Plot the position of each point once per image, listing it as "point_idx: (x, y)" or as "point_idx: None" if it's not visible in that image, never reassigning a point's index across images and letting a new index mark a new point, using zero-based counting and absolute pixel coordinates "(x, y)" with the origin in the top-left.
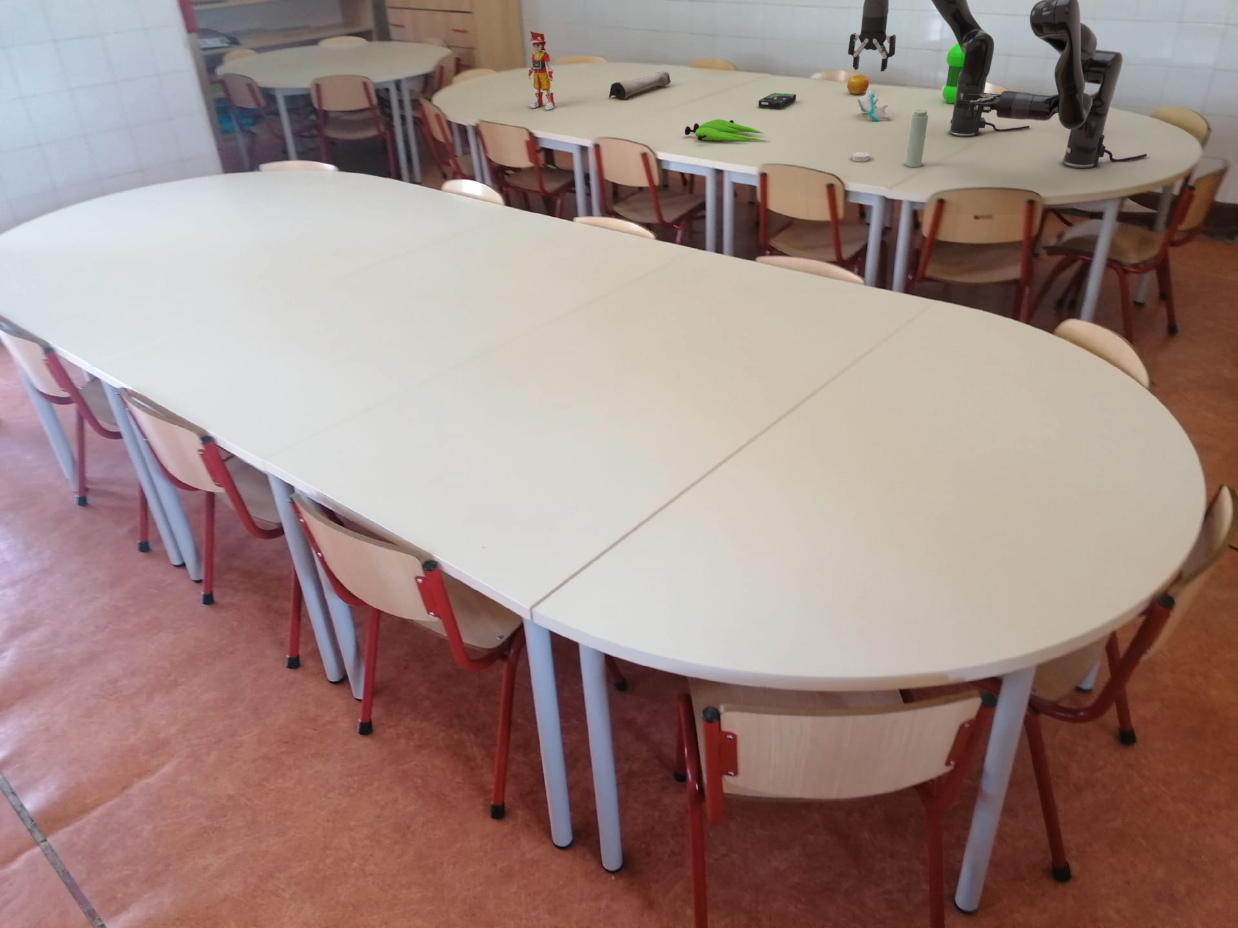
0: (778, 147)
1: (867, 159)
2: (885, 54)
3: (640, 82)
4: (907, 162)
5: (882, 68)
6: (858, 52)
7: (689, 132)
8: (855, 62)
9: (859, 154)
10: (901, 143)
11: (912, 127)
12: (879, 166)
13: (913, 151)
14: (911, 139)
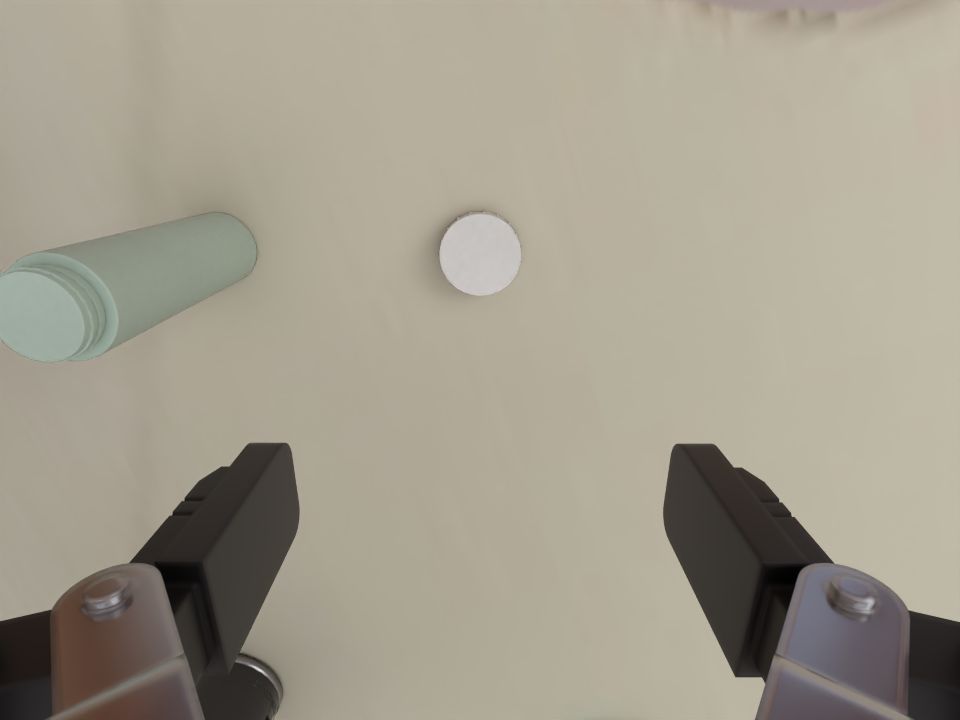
0: (911, 308)
1: (441, 239)
2: (53, 644)
3: None
4: (235, 225)
5: (245, 464)
6: (814, 658)
7: None
8: (750, 504)
9: (486, 252)
10: (395, 525)
11: (130, 251)
12: (357, 171)
13: (178, 221)
14: (167, 237)
